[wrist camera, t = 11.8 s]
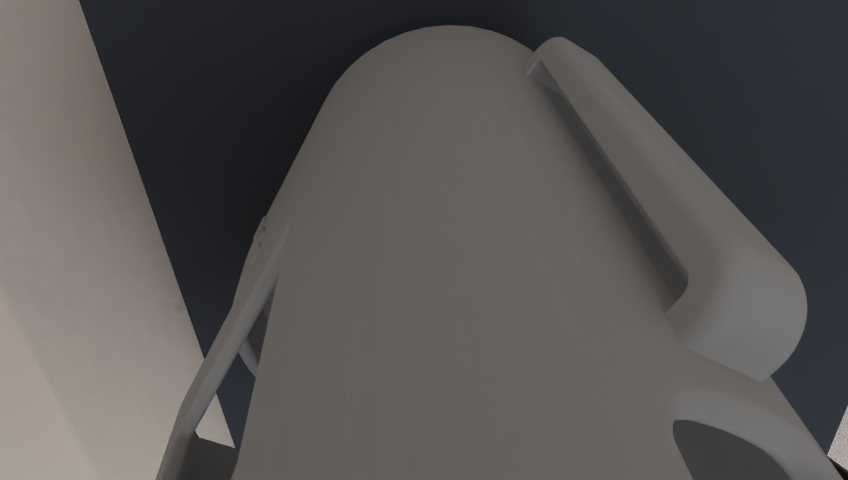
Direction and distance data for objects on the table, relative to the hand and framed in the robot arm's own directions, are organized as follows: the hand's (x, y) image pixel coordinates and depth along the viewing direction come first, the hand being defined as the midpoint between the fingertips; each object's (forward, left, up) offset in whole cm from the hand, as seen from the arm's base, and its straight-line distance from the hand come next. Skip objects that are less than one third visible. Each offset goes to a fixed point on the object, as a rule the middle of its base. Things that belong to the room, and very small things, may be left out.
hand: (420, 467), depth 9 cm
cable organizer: (-1, -1, -8) cm, 8 cm away
